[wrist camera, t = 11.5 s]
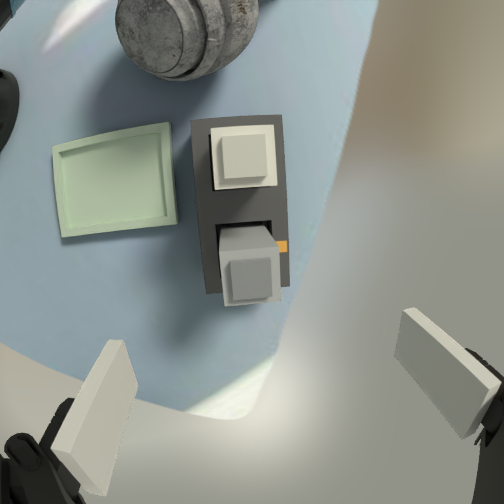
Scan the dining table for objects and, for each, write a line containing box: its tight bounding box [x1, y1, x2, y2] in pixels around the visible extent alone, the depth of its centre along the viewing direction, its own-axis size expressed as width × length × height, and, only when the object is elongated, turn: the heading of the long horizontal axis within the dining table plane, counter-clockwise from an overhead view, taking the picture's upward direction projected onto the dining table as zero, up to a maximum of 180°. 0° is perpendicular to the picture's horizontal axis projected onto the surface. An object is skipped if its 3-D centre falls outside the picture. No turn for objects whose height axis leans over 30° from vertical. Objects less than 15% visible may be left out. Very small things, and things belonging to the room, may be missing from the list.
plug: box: [219, 221, 281, 306], centre depth 28 cm, size 4×4×13 cm
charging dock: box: [190, 115, 290, 294], centre depth 28 cm, size 9×18×15 cm, turn 4°
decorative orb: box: [115, 0, 259, 81], centre depth 22 cm, size 15×14×15 cm
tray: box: [52, 122, 179, 238], centre depth 32 cm, size 16×12×2 cm
